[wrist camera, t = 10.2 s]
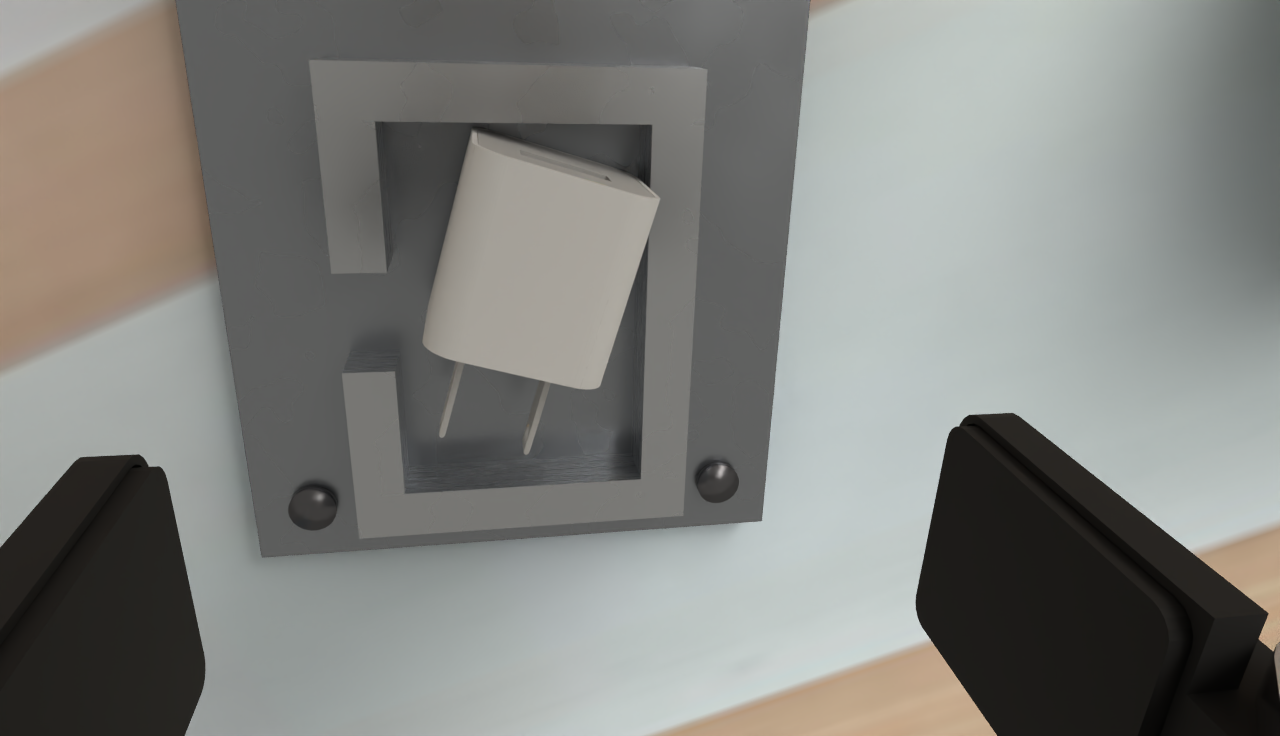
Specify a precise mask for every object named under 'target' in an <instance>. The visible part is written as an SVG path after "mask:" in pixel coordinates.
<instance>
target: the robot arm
mask: <svg viewBox="0 0 1280 736" xmlns="http://www.w3.org/2000/svg"><path fill="white" fill-rule="evenodd" d="M916 611H917V616H918V619H919V622H920V624H921V626H922V628H923V629H924V631H925V632H926V633H927V635H928V636H929V638H930V639H931V641H932V642H933V644H934V645H935V646H936V648H937V649H938V651H939V652H940V654H941V655H942V657H943V658H944V659H945V661H946V662H947V664H948V665H949V667H950V668H951V670H952V671H953V672H954V674H955V675H956V677H957V678H958V680H959V681H960V682H961V684H962V685H963V687H964V688H965V690H966V691H967V693H968V694H969V695H970V697H971V698H972V700H973V701H974V703H975V704H976V706H977V707H978V708H979V710H980V711H981V713H982V714H983V716H984V717H985V719H986V720H987V721H988V723H989V724H990V726H991V727H992V729H993V730H994V732H995V733H996V734H997V736H1280V642H1279V643H1278V644H1277V645H1276V647H1275V650H1274V652H1273V651H1272V650H1270V649H1269V648H1268V647H1267V646H1266V645H1264V644H1263V643H1262V642H1261V641H1260V640H1258V638H1259V636H1260V633H1261V631H1262V628H1263V626H1264V624H1265V621H1266V619H1267V616H1268V614H1269V613H1267V612H1266V611H1265V610H1264V609H1262V608H1261V607H1260V606H1259V605H1257V604H1256V603H1255V602H1253V601H1252V600H1251V599H1250V598H1248V597H1247V596H1246V595H1245V594H1243V593H1242V592H1241V591H1240V590H1238V589H1237V588H1236V587H1234V586H1233V585H1232V584H1231V583H1229V582H1228V581H1227V580H1226V579H1224V578H1223V577H1222V576H1221V575H1219V574H1218V573H1217V572H1215V571H1214V570H1213V569H1212V568H1210V567H1209V566H1208V565H1207V564H1205V563H1204V562H1203V561H1202V560H1200V559H1199V558H1198V557H1196V556H1195V555H1194V554H1193V553H1191V552H1190V551H1189V550H1188V549H1186V548H1185V547H1184V546H1183V545H1181V544H1180V543H1179V542H1177V541H1176V540H1175V539H1174V538H1172V537H1171V536H1170V535H1169V534H1167V533H1166V532H1165V531H1164V530H1162V529H1161V528H1160V527H1159V526H1157V525H1156V524H1155V523H1153V522H1152V521H1151V520H1150V519H1148V518H1147V517H1146V516H1145V515H1143V514H1142V513H1141V512H1140V511H1138V510H1137V509H1136V508H1134V507H1133V506H1132V505H1131V504H1129V503H1128V502H1127V501H1126V500H1124V499H1123V498H1122V497H1121V496H1119V495H1118V494H1117V493H1115V492H1114V491H1113V490H1112V489H1110V488H1109V487H1108V486H1107V485H1105V484H1104V483H1103V482H1102V481H1100V480H1099V479H1098V478H1096V477H1095V476H1094V475H1093V474H1091V473H1090V472H1089V471H1088V470H1086V469H1085V468H1084V467H1083V466H1081V465H1080V464H1079V463H1078V462H1076V461H1075V460H1074V459H1072V458H1071V457H1070V456H1069V455H1067V454H1066V453H1065V452H1064V451H1062V450H1061V449H1060V448H1059V447H1057V446H1056V445H1055V444H1053V443H1052V442H1051V441H1050V440H1048V439H1047V438H1046V437H1045V436H1043V435H1042V434H1041V433H1040V432H1038V431H1037V430H1036V429H1034V428H1033V427H1032V426H1031V425H1029V424H1028V423H1027V422H1026V421H1024V420H1023V419H1022V418H1021V417H1019V416H1017V415H1015V414H1014V413H1003V414H982V415H969V416H967V417H965V418H964V419H963V421H962V422H961V424H960V426H959V427H955V428H953V429H952V430H951V432H950V433H949V436H948V439H947V443H946V448H945V453H944V458H943V463H942V468H941V473H940V479H939V484H938V489H937V494H936V499H935V504H934V509H933V514H932V519H931V524H930V529H929V534H928V539H927V544H926V549H925V554H924V559H923V564H922V569H921V574H920V579H919V584H918V589H917V594H916ZM204 680H205V657H204V652H203V647H202V642H201V638H200V633H199V628H198V623H197V619H196V614H195V609H194V605H193V600H192V595H191V590H190V586H189V581H188V576H187V571H186V567H185V562H184V557H183V552H182V548H181V543H180V538H179V533H178V529H177V524H176V519H175V515H174V510H173V505H172V500H171V496H170V491H169V486H168V481H167V478H166V474H165V472H164V471H163V469H162V468H161V467H148V464H147V462H146V461H145V459H144V458H143V457H142V456H140V455H119V456H98V457H80V458H79V459H78V460H76V461H75V462H74V463H73V464H72V465H71V467H70V468H69V469H68V470H67V471H66V472H65V473H64V475H63V476H62V477H61V478H60V479H59V480H58V482H57V483H56V484H55V485H54V486H53V487H52V489H51V490H50V491H49V492H48V493H47V494H46V495H45V497H44V498H43V499H42V500H41V501H40V502H39V504H38V505H37V506H36V507H35V508H34V509H33V510H32V512H31V513H30V514H29V515H28V516H27V517H26V519H25V520H24V521H23V522H22V523H21V524H20V526H19V527H18V528H17V529H16V530H15V531H14V532H13V534H12V535H11V536H10V537H9V538H8V539H7V541H6V542H5V543H4V544H3V545H2V546H1V547H0V736H185V733H186V731H187V728H188V726H189V723H190V721H191V718H192V716H193V713H194V711H195V708H196V706H197V703H198V701H199V698H200V696H201V693H202V690H203V686H204Z"/></svg>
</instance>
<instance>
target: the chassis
mask: <svg viewBox="0 0 1280 736" xmlns="http://www.w3.org/2000/svg"><path fill="white" fill-rule="evenodd" d="M176 6H177V13H178V19H179V26H180V32H181V39H182V45H183V52H184V58H185V65H186V71H187V77H188V84H189V90H190V97H191V103H192V110H193V116H194V123H195V129H196V136H197V142H198V149H199V155H200V161H201V168H202V174H203V181H204V187H205V194H206V200H207V207H208V213H209V220H210V226H211V232H212V239H213V245H214V252H215V258H216V265H217V271H218V278H219V284H220V291H221V297H222V304H223V310H224V316H225V323H226V329H227V336H228V342H229V349H230V355H231V362H232V368H233V375H234V381H235V387H236V394H237V400H238V407H239V413H240V420H241V426H242V433H243V439H244V446H245V452H246V459H247V465H248V471H249V478H250V484H251V491H252V497H253V504H254V510H255V517H256V523H257V530H258V536H259V542H260V549H261V555H262V557H275V556H288V555H302V554H316V553H329V552H343V551H357V550H371V549H384V548H398V547H412V546H426V545H439V544H453V543H467V542H481V541H494V540H508V539H522V538H536V537H549V536H563V535H577V534H591V533H604V532H618V531H632V530H646V529H659V528H673V527H687V526H700V525H714V524H728V523H742V522H755V521H762V513H763V502H764V491H765V481H766V470H767V459H768V448H769V438H770V427H771V416H772V405H773V395H774V384H775V373H776V362H777V352H778V341H779V330H780V319H781V309H782V298H783V287H784V276H785V266H786V255H787V244H788V233H789V222H790V212H791V201H792V190H793V179H794V169H795V158H796V147H797V136H798V126H799V115H800V104H801V93H802V83H803V72H804V61H805V50H806V40H807V29H808V18H809V7H810V0H176ZM472 127H477V128H483V129H487V130H491V131H495V132H498V133H502V134H505V135H508V136H512V137H515V138H518V139H522V140H525V141H528V142H531V143H535V144H538V145H541V146H545V147H548V148H551V149H555V150H558V151H561V152H564V153H568V154H571V155H574V156H578V157H581V158H584V159H587V160H591V161H594V162H597V163H601V164H604V165H607V166H610V167H613V168H616V169H619V170H622V171H624V172H627V173H629V174H632V175H634V176H636V177H637V178H639V179H640V180H641V181H642V182H643V183H644V184H645V185H646V186H648V187H649V188H650V189H651V190H652V191H653V192H654V193H655V194H656V195H657V196H658V197H660V201H659V204H658V208H657V211H656V214H655V217H654V220H653V223H652V226H651V229H650V232H649V236H648V239H647V242H646V245H645V248H644V251H643V254H642V257H641V260H640V263H639V267H638V270H637V273H636V276H635V279H634V282H633V285H632V288H631V291H630V295H629V298H628V301H627V304H626V307H625V310H624V313H623V316H622V319H621V322H620V326H619V329H618V332H617V335H616V338H615V341H614V344H613V347H612V350H611V354H610V357H609V360H608V363H607V366H606V369H605V372H604V375H603V378H602V382H601V385H600V386H599V387H598V388H596V389H577V388H572V387H567V386H563V385H559V384H554V383H551V384H550V387H549V391H548V394H547V397H546V401H545V404H544V407H543V410H542V414H541V417H540V420H539V424H538V427H537V430H536V433H535V436H534V439H533V442H532V446H531V449H530V452H529V453H528V454H527V455H525V454H524V451H523V443H522V439H523V436H524V432H525V428H526V425H527V421H528V418H529V414H530V411H531V407H532V404H533V401H534V397H535V394H536V390H537V387H538V384H539V380H537V379H532V378H528V377H523V376H519V375H514V374H510V373H506V372H501V371H497V370H492V369H488V368H484V367H479V366H475V365H470V364H466V363H464V367H463V371H462V375H461V378H460V382H459V386H458V390H457V393H456V397H455V401H454V405H453V408H452V412H451V416H450V419H449V423H448V426H447V430H446V434H445V436H444V437H443V438H441V437H440V436H439V429H440V421H441V417H442V413H443V409H444V405H445V401H446V397H447V393H448V390H449V386H450V382H451V378H452V374H453V371H454V367H455V363H456V361H453V360H449V359H446V358H444V357H441V356H439V355H436V354H435V353H433V352H431V351H429V350H428V349H427V348H426V347H425V346H424V345H423V343H422V341H423V334H424V328H425V321H426V315H427V308H428V303H429V299H430V295H431V291H432V287H433V283H434V279H435V275H436V271H437V267H438V263H439V259H440V255H441V251H442V247H443V243H444V239H445V235H446V231H447V227H448V223H449V218H450V214H451V210H452V206H453V202H454V198H455V194H456V190H457V186H458V182H459V178H460V174H461V170H462V166H463V162H464V158H465V154H466V150H467V146H468V142H469V138H470V133H471V129H472Z"/></svg>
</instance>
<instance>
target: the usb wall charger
mask: <svg viewBox="0 0 1280 736" xmlns="http://www.w3.org/2000/svg"><path fill="white" fill-rule="evenodd" d="M659 201H660V197H658V196H657V195H656V194H655V193H654V192H653V191H652V190H651V189H650V188H649V187H648V186H646V185H645V184H644V183H643V182H642V181H641V180H640V179H639V178H637V177H636V176H634V175H632V174H629V173H627V172H624V171H622V170H619V169H616V168H613V167H610V166H607V165H604V164H601V163H597V162H594V161H591V160H587V159H584V158H581V157H578V156H574V155H571V154H568V153H564V152H561V151H558V150H555V149H551V148H548V147H545V146H541V145H538V144H535V143H531V142H528V141H525V140H522V139H518V138H515V137H512V136H508V135H505V134H502V133H498V132H495V131H491V130H487V129H483V128H477V127H472V129H471V133H470V138H469V142H468V146H467V150H466V154H465V158H464V162H463V166H462V170H461V174H460V178H459V182H458V186H457V190H456V194H455V198H454V202H453V206H452V210H451V214H450V218H449V223H448V227H447V231H446V235H445V239H444V243H443V247H442V251H441V255H440V259H439V263H438V267H437V271H436V275H435V279H434V283H433V287H432V291H431V295H430V299H429V303H428V308H427V315H426V321H425V328H424V334H423V341H422V343H423V345H424V346H425V347H426V348H427V349H428V350H429V351H431V352H433V353H435V354H436V355H439V356H441V357H444V358H446V359H449V360H453V361H456V363H455V367H454V371H453V374H452V378H451V382H450V386H449V390H448V393H447V397H446V401H445V405H444V409H443V413H442V417H441V421H440V429H439V436H440V437H441V438H443V437H444V436H445V434H446V430H447V426H448V423H449V419H450V416H451V412H452V408H453V405H454V401H455V397H456V393H457V390H458V386H459V382H460V378H461V375H462V371H463V367H464V363H466V364H470V365H475V366H479V367H484V368H488V369H492V370H497V371H501V372H506V373H510V374H514V375H519V376H523V377H528V378H532V379H537V380H539V384H538V387H537V390H536V394H535V397H534V401H533V404H532V407H531V411H530V414H529V418H528V421H527V425H526V428H525V432H524V436H523V439H522V443H523V451H524V454H525V455H527V454H528V453H529V452H530V449H531V446H532V442H533V439H534V436H535V433H536V430H537V427H538V424H539V420H540V417H541V414H542V410H543V407H544V404H545V401H546V397H547V394H548V391H549V387H550V384H551V383H554V384H559V385H563V386H567V387H572V388H577V389H596V388H598V387H599V386H600V385H601V382H602V378H603V375H604V372H605V369H606V366H607V363H608V360H609V357H610V354H611V350H612V347H613V344H614V341H615V338H616V335H617V332H618V329H619V326H620V322H621V319H622V316H623V313H624V310H625V307H626V304H627V301H628V298H629V295H630V291H631V288H632V285H633V282H634V279H635V276H636V273H637V270H638V267H639V263H640V260H641V257H642V254H643V251H644V248H645V245H646V242H647V239H648V236H649V232H650V229H651V226H652V223H653V220H654V217H655V214H656V211H657V208H658V204H659Z"/></svg>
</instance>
